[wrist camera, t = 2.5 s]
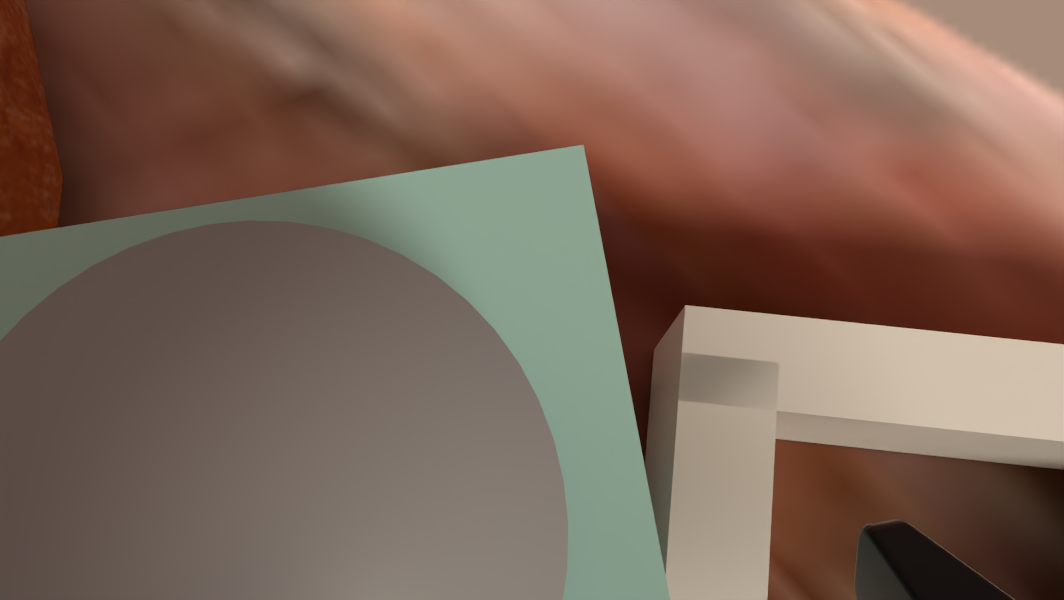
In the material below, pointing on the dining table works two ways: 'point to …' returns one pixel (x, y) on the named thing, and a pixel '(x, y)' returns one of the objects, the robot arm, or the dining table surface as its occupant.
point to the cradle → (819, 421)
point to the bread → (25, 132)
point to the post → (326, 398)
